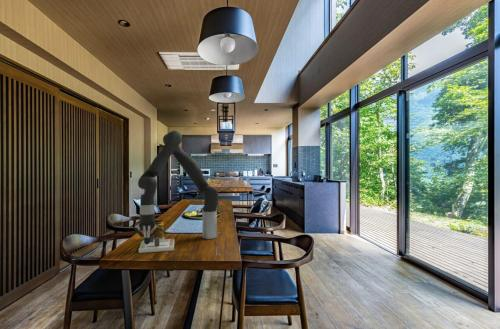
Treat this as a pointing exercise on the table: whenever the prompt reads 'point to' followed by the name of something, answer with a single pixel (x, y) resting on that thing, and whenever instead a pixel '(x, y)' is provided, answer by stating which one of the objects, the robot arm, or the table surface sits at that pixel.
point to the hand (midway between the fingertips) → (147, 244)
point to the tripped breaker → (157, 241)
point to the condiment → (160, 231)
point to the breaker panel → (164, 246)
